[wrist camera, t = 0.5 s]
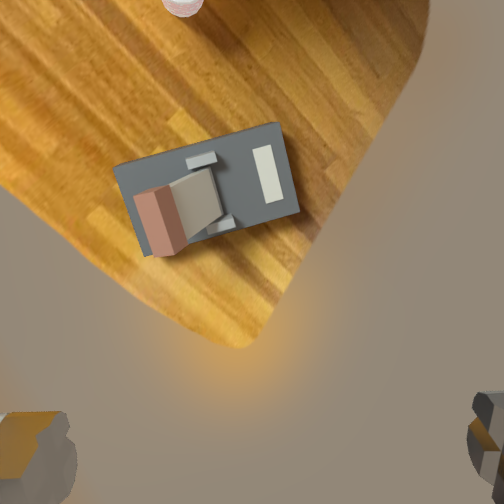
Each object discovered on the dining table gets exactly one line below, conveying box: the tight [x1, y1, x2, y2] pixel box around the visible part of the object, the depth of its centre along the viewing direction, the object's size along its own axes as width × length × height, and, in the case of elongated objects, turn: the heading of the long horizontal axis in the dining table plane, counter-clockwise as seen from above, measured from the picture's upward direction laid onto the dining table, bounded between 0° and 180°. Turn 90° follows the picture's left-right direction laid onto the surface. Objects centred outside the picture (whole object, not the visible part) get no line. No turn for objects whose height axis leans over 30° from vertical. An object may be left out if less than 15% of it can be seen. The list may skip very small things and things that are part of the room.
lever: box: [133, 166, 224, 257], centre depth 42 cm, size 6×2×12 cm
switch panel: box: [113, 122, 300, 257], centre depth 48 cm, size 10×18×8 cm, turn 105°
